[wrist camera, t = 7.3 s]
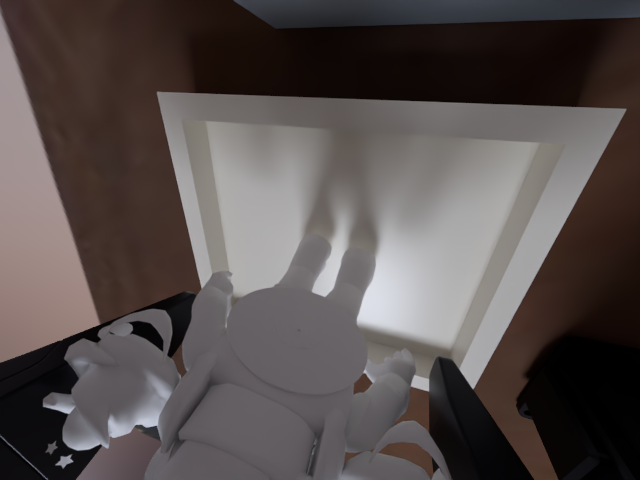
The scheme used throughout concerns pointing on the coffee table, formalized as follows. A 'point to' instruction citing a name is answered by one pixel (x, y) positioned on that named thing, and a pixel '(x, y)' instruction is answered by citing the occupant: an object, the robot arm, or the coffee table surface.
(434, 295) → the tray
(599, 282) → the coffee table surface
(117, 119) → the coffee table surface
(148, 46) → the coffee table surface
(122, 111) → the coffee table surface
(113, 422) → the flower shoulder figurine
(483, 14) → the deep square frame
